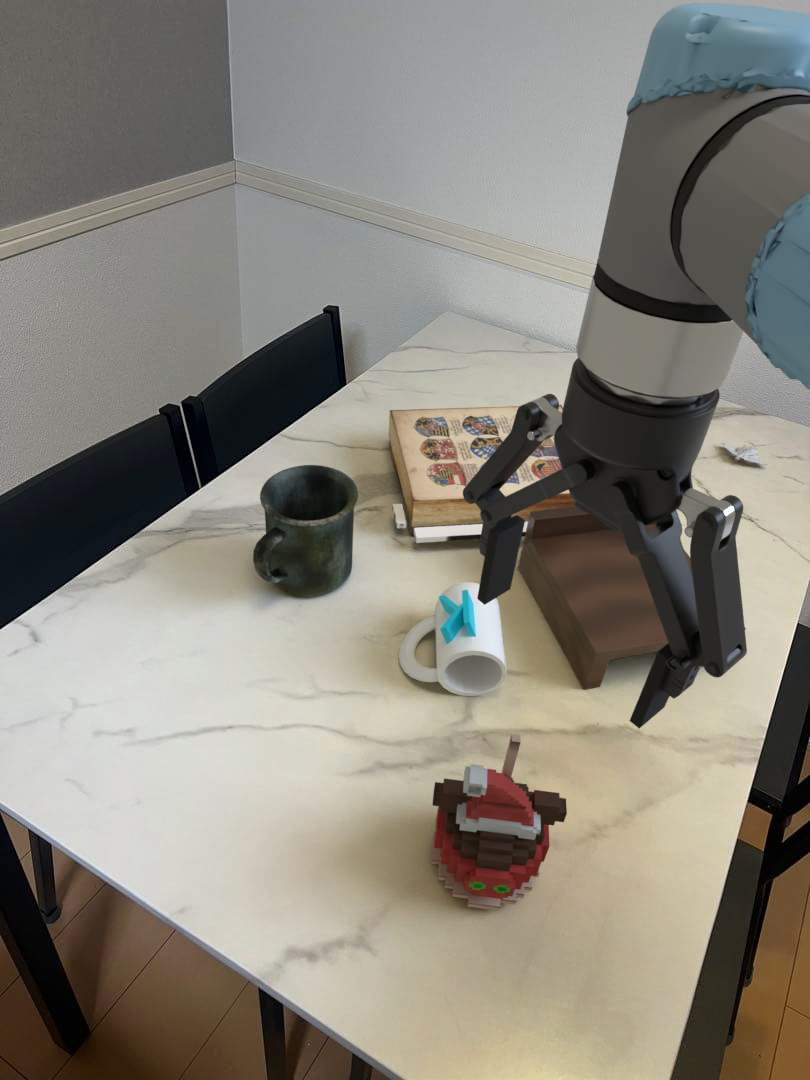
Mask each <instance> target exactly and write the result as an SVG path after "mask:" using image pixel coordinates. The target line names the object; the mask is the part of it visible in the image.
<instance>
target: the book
mask: <svg viewBox="0 0 810 1080" xmlns="http://www.w3.org/2000/svg"><path fill="white" fill-rule="evenodd" d="M520 406H521V405H515V406H514V405H513V406H512V405H511V406H485V407H484V406H483V407H482V406H481V407H448V408H421V409H420V408H418V409H417V408H416V409H389V417H388V438H389V441H388V443H389V451H390V456H391V460H392V464H393V469H394V470H397V474H398V478H399V483H400V486H401V491H402V494H403V498H404V502H405V506H406V515H405V511H404V507H403V504H402V503H392V513H393V517H394V522H395V527H396V529H407V525H408V529H409V532H410V534H412V535H413V536H414V540H415V543H416V544H420V543H422V544H423V543H437V542H438V543H439V542H455V541H472V540H473V541H474V540H480V538H481V532H482V526H483V520H482V519H481V516H480V512H481V510H480V508H479V507H478V506H477V505H476V504H475V503H473V504H469V503H467V502H466V500H465V499H464V497H463V490H464V488H465V487H466V486H467V484H468V483H469V482H470V481H471V480H472V478H473V477H474V476H475V475H476V473H477V472H478V471H479V470H480V469H481V467H482V466H483V465H484V464H485V463H486V461H487V460H488V459H489V458H490V457H491V455H492V454H493V453H494V452H495V451H496V449H497V448H498V447H499V446H500V445H501V443H502V442H503V441H504V440H505V438H506V437H507V436H508V435H509V434H510V432H511V430H512V426H513V423H514V420H515V416H516V413H517V410H518V408H519V407H520ZM558 410H559V411H560V412H561V413H562V410H563V405H562V404H559V409H558ZM560 469H562V467H561V463H560V460H559V457H558V454H557V450H556V447H555V443H554V436H552V437H550V438H548V439H546V440H544V441H543V442H542V443H541V444H540V445H539V446H538V447H537V448H536V450H535V451H534V452H533V453H532V454H531V455H530V456H529V457H528V458H527V460H526V461H525V462H524V463H523V464H522V465H521V466H520V467H519V468H518V470H517V471H516V472H515V473H514V474H513V475H512V476H511V477H510V478H509V479H508V481H507V482H506V483H505V484H504V485H503V486H502V487H501V488H500V489H499V490H500V491H501V492H502V493H503V495H504V496H505V497H506V496H508V495H510V494H512V493H514V492H516V491H518V490H520V489H522V488H524V487H526V486H528V485H530V484H532V483H534V482H536V481H538V480H540V479H542V478H544V477H546V476H548V475H550V474H552V473H554V472H556V471H558V470H560ZM575 502H576V501H575V500H574V499H573V497H572V496H571V494H570V492H569V490H566V491H564V492H562V493H560V494H558V495H555V496H553V497H551V498H549V499H546V500H544V501H541V502H539V503H537V504H535V505H533V506H530V507H528V508H526V509H524V510H522V511H520V512H517V513H515V514H513V515H511V518H512V517H514V516H516V515H518V516H520V517H521V518H522V519H524V520H525V523H524V528H523V532H522V537H521V538H523V537H524V538H525V534H526V529H527V524H528V520H529V515H530V512H533V511H542V510H550V509H559V508H568V507H576V506H575Z"/></svg>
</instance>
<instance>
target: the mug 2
mask: <svg viewBox="0 0 810 1080" xmlns="http://www.w3.org/2000/svg"><path fill="white" fill-rule="evenodd" d="M479 586H480V583H477V582H473V581H463V582H458V583H454V584H452V585H450V586H449V587H447V588H446V589H445V590H443V591H442V593H441V594H440V595H439V596H438V599H437V601H436V604H435V608H434V615H431V616H428V617H426V618H424V619H423V620H421V621H419V622H417V623H416V624H415V625H414V626H413V627H412V628H410V630H408V632H407V634H405V636H404V637H403V639H402V642H401V644H400V645H399V651H398V660H399V665H400V667H401V668H402V670H403V672H404V673H405V674H406V675H408V676H409V677H410V678H411V679H414V680H417V681H419V682H425V683H436V682H438V683H439V684H440V685H441V687H442V688H443V689H445V690H446V691H448V692H449V693H452V694H455V695H458V696H463V697H477V696H483V695H486V694H490V693H492V692H494V691H495V690H497V689H499V688H500V687H501V685H503V684H504V682H505V681H506V677H507V675H508V673H507V664H506V654H505V647H504V639H503V629H502V628H503V627H502V620H501V612H500V605H499V601H498V599H497V598H495V599H493V600H492V601H490V602H488V603H487V604H485V605H484V604H483V603H482V602H480V601H479V600H478V599H477V597H478V592H479ZM433 631H435V658H436V661H435V662H436V667H426V666H424V665H422V664H421V663H420V662H419V661H418V660H417V657H416V648H417V646H418V644H419V642H420V641H421V640H422V639H423V637H425V636H426V635H427V634H429V633H430V632H433Z"/></svg>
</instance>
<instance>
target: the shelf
mask: <svg viewBox="0 0 810 1080" xmlns="http://www.w3.org/2000/svg"><path fill="white" fill-rule="evenodd" d="M527 522H528V524H527V529H526V534H525V537H524V539H523V542H522V547H521V552H520V557H519V562H518V570H519V572H520V573H521V575H522V577H523V579H524V582H525V583H526V584H527V587H528V589H529V590H530V592H531V594H532V596H533V598H534V600H535V601H536V604H537V606H538V607H539V609H540V611H541V613H542V614H543V616H544V619H545V620H546V622H547V624H548V625H549V627H550V629H551V631H552V633H553V635H554V637H555V638H556V640H557V642H558V644H559V646H560V648H561V650H562V652H563V654H564V655H565V658H566V659H567V661H568V663H569V665H570V667H571V668H572V670H573V672H574V674H575V676H576V678H577V680H578V681H579V684H580V685H581V687H582V690H591V689H595V688H600V687H602V682H603V680H604V677H605V674H606V672H607V668H608V666H609V663H610V661H611V660H613V659H619V658H625V657H632V656H638V655H644V654H650V653H657V652H658V651H659V650H660V649H662V648H663V647H664V646H665V645H667V644H668V640H667V637H666V635H665V632H664V629H663V626H662V623H661V621H660V618H659V615H658V612H657V609H656V607H655V604H654V601H653V598H652V596H651V593H650V590H649V587H648V584H647V582H646V579H645V576H644V573H643V571H642V568H641V565H640V562H639V559H638V558H637V557H636V556H633V555H631V554H630V552H629V550H628V547H627V545H626V542H625V539H624V536H623V534H622V531H621V530H620V531H618V532H617V533H616V532H615V531H613V530H612V529H610V528H609V527H607V526H606V525H605V524H604V523H603V522H602V521H601V520H600V519H599V518H598V517H596V516H595V515H592V514H589V513H586V512H584V511H582V510H581V509H579V508H578V507H568V508H559V509H550V510H542V511H533V512H530V515H529V520H528V521H527ZM655 527H656V521H654V522H652V523H649V524H647V525H645V529H646V532H647V533H648V532H650V531H652V530H653V529H655ZM684 551H685V554H686V557H687V560H688V563H689V566H690V568H691V560H690V554H688V553H687V552H686V550H685V549H684ZM691 571H692V568H691ZM746 629H747V628H746V627H745V630H746Z"/></svg>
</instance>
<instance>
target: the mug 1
mask: <svg viewBox="0 0 810 1080" xmlns="http://www.w3.org/2000/svg"><path fill="white" fill-rule="evenodd" d="M358 499H359V490H358V487H357V485H356V483H355V481H354V480H353V479H352V478H351V477H350V476H349V475H348V474H347V473H344V472H343V471H341V470H338V469H336V468H333V467H330V466H327V465H326V466H325V465H320V464H303V465H302V464H301V465H295V466H291V467H288V468H285V469H283V470H282V469H281V470H280V471H278V472H276V473H275V474H273V475H272V476H270V477H269V478H268V479H267V480H265V482H264V484H263V485H262V487H261V490H260V494H259V501H260V504H261V506H262V508H263V510H264V524H265V534H264V535H263V536H262V537H261V538H259V540H258V541H257V542H256V544H255V546H254V549H253V556H252V562H253V566H254V570H255V572H256V573H257V575H258V576H259V577H260V578H261V579H263V580H264V581H266V582H268V583H271V584H274V585H275V586H277V587H278V588H279V589H280V590H281V591H283V592H285V593H287V594H289V595H292V596H296V597H302V598H316V597H321V596H324V595H327V594H330V593H332V592H334V591H336V590H337V589H339V588H340V587H341V586H342V585H343V584H345V582H346V581H347V580H348V578H349V577H350V575H351V573H352V569H353V551H354V550H353V546H354V516H355V506H356V504H357V502H358Z"/></svg>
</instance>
